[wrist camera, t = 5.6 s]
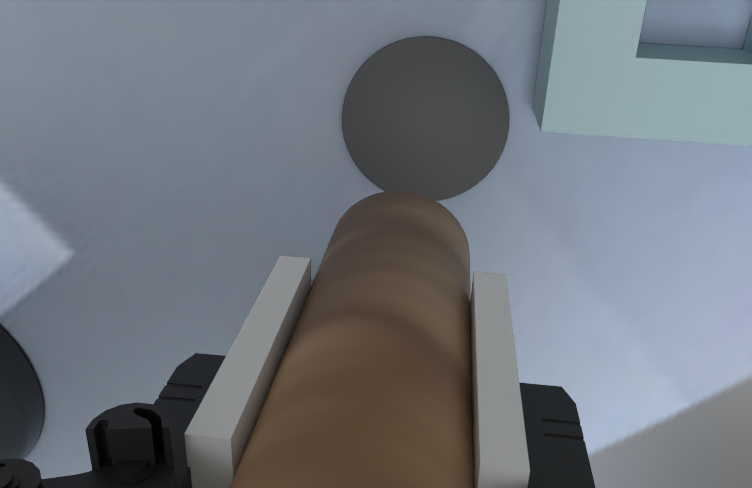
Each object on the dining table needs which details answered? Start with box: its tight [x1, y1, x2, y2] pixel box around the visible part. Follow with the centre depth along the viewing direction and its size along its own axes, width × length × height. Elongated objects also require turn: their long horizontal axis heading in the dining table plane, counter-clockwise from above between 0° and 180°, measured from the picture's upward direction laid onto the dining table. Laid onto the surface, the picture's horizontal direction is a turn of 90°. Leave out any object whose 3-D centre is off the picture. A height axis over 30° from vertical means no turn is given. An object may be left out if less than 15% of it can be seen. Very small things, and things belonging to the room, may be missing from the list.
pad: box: [342, 36, 509, 201], centre depth 34 cm, size 8×8×1 cm
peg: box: [230, 191, 474, 488], centre depth 14 cm, size 4×4×14 cm
